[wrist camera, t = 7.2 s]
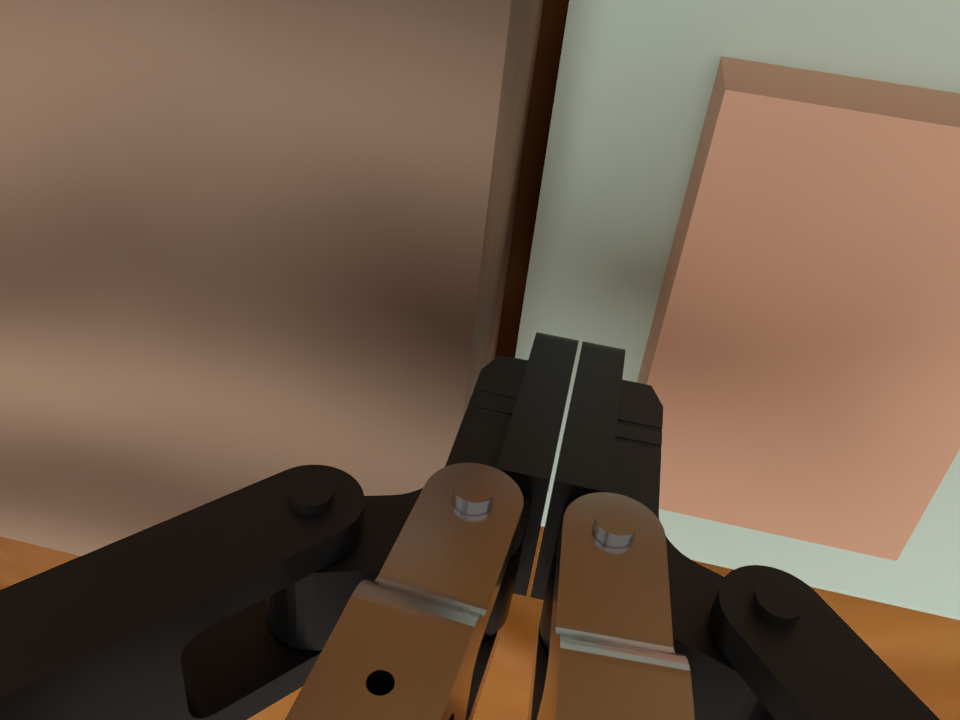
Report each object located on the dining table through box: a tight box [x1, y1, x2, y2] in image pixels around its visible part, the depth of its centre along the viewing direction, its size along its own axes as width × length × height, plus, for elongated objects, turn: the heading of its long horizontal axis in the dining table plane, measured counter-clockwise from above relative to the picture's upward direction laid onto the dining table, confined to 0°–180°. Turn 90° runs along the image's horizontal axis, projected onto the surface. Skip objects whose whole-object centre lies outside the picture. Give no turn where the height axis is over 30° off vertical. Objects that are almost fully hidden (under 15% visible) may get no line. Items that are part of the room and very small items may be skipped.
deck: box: [0, 0, 544, 556], centre depth 17 cm, size 18×12×4 cm, turn 174°
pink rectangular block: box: [637, 56, 960, 561], centre depth 16 cm, size 9×6×2 cm, turn 174°
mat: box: [515, 0, 960, 620], centre depth 17 cm, size 16×13×1 cm
